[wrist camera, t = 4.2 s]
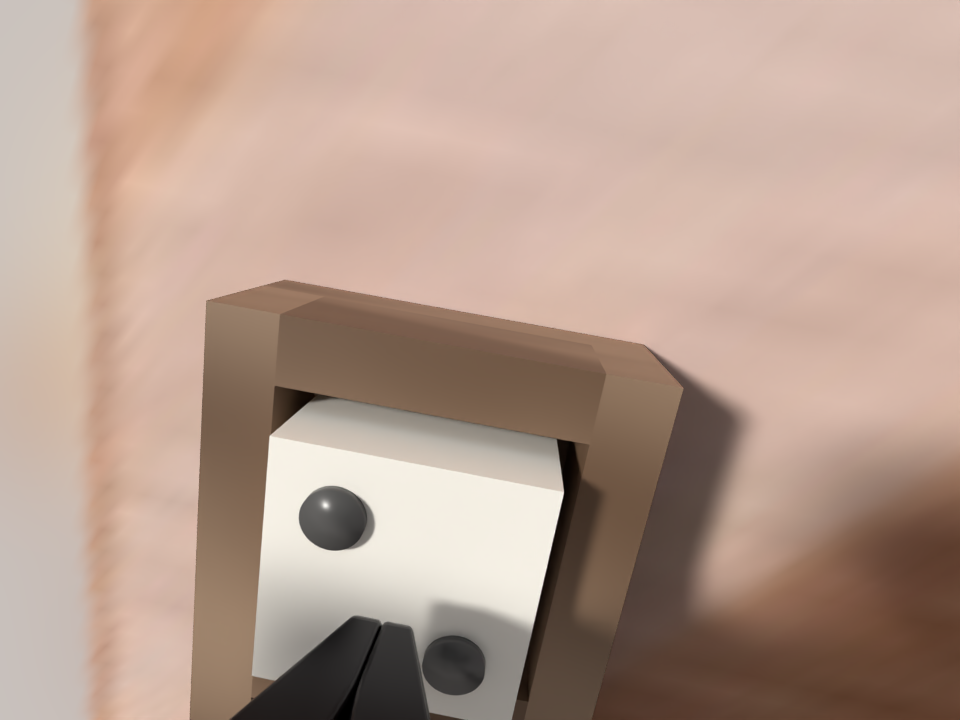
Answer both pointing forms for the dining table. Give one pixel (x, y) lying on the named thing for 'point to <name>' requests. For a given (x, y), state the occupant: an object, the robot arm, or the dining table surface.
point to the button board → (443, 393)
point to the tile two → (408, 543)
